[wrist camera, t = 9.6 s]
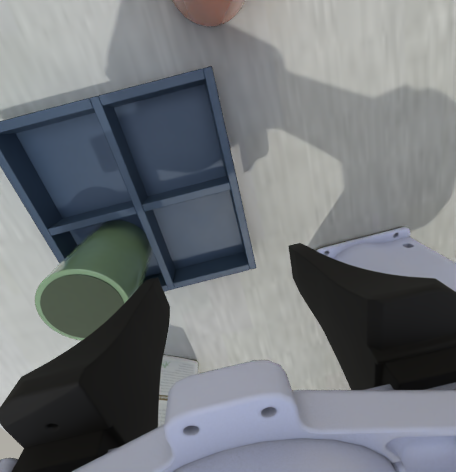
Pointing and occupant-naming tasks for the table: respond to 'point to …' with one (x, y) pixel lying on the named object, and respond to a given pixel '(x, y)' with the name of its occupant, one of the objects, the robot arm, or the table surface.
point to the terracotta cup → (209, 10)
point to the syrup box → (172, 379)
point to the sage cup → (94, 279)
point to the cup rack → (136, 175)
